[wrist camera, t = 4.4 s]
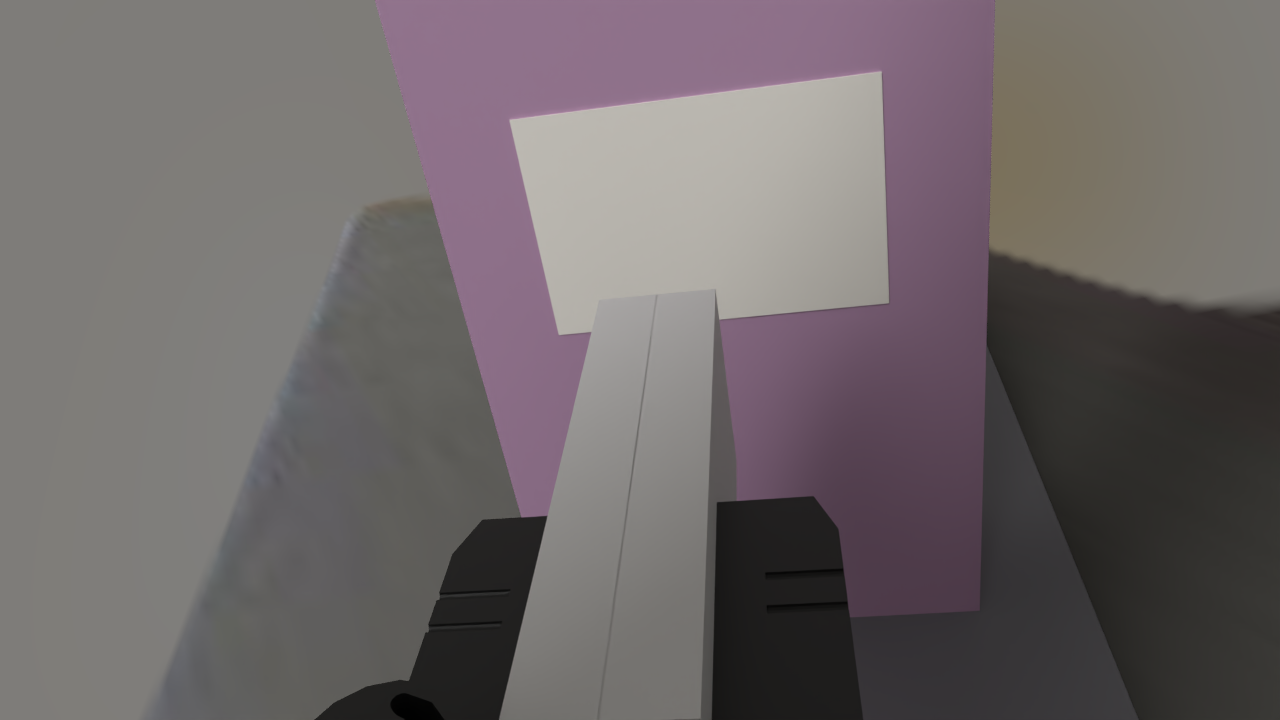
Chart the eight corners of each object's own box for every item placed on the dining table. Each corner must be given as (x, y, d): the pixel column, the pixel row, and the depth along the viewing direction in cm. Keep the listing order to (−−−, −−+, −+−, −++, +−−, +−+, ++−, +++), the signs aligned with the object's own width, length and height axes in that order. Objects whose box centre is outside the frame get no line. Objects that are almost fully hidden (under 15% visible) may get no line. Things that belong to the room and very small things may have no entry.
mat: (597, 260, 43) (595, 247, 43) (932, 224, 41) (932, 210, 41) (407, 1009, 18) (398, 992, 18) (1244, 1014, 16) (1249, 994, 16)
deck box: (980, 612, 23) (999, -167, 15) (553, 634, 25) (355, -63, 16) (951, 508, 26) (955, -187, 18) (573, 533, 28) (415, -97, 19)
